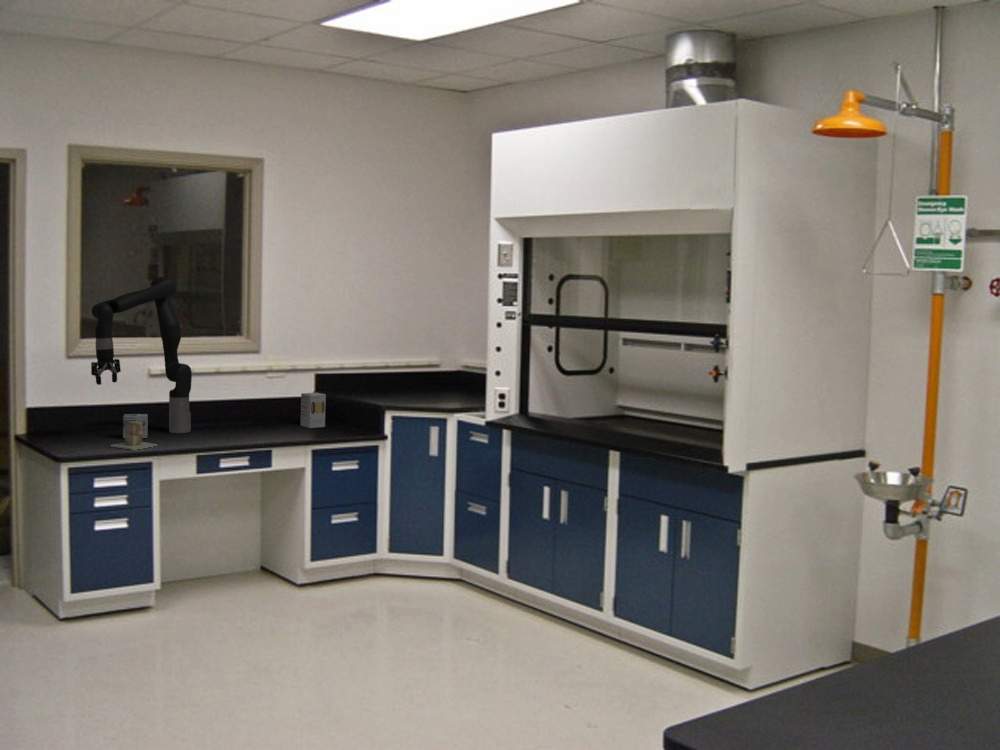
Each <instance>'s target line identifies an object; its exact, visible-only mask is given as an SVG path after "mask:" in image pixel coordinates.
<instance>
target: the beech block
mask: <svg viewBox="0 0 1000 750" xmlns="http://www.w3.org/2000/svg"><path fill="white" fill-rule="evenodd" d="M124 440H125V442H126V445H130V446H137V445H142V442H143V439H142V422H137V421H131V422H125V439H124Z"/></svg>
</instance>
